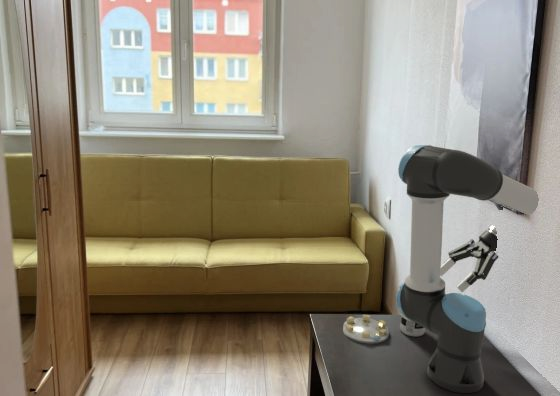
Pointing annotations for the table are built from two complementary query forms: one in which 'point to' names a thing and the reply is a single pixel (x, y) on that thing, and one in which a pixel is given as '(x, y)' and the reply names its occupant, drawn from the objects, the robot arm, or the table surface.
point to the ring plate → (366, 330)
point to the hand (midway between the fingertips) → (448, 281)
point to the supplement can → (411, 327)
